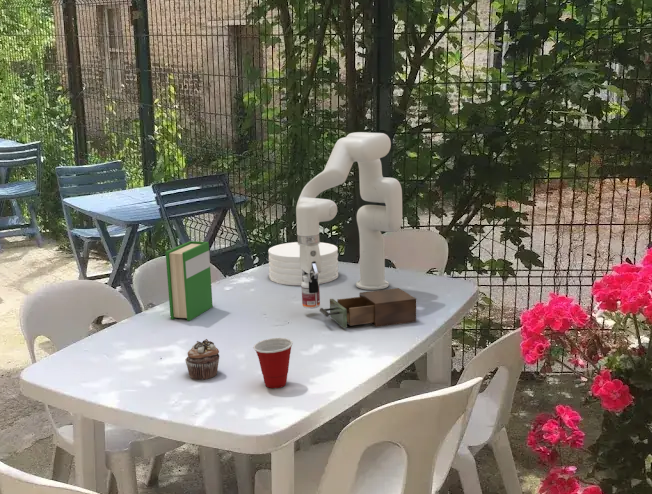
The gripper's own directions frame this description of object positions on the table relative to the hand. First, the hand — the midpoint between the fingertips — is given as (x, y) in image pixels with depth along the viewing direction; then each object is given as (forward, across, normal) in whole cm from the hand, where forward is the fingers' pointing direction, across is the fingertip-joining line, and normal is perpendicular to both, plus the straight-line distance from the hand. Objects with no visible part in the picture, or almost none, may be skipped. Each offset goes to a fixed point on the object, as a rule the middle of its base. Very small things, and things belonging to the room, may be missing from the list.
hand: (310, 289), depth 295 cm
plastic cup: (+8, -58, +30) cm, 66 cm away
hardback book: (+9, +18, +39) cm, 44 cm away
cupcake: (+8, -44, +47) cm, 64 cm away
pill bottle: (+6, 0, 0) cm, 6 cm away
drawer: (+8, -14, -8) cm, 19 cm away
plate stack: (+10, +52, -13) cm, 54 cm away
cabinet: (+9, -14, -22) cm, 28 cm away
